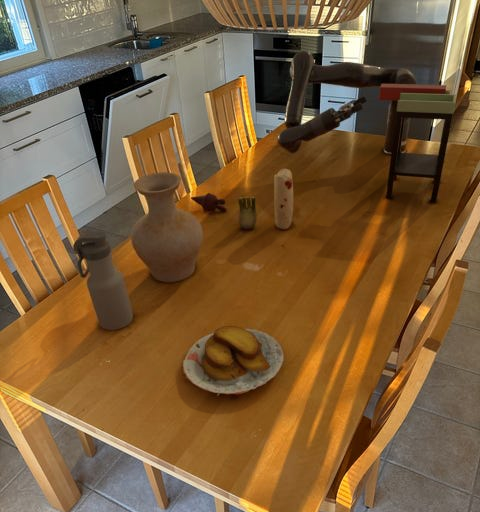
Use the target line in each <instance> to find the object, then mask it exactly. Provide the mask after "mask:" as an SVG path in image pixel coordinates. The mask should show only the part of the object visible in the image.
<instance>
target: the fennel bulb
mask: <svg viewBox="0 0 480 512" xmlns="http://www.w3.org/2000/svg"><path fill="white" fill-rule="evenodd" d="M237 202H238V208H239V210H238V224H239V227H240V228H241V229H243V230H252V229H254V228H255V226H256V225H257V216H258V215H257V209H256V208H257V207H256V197H255V196H251V197H250V196H242V197H238V199H237Z"/></svg>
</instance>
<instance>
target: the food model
mask: <svg viewBox="0 0 480 512" xmlns="http://www.w3.org/2000/svg"><path fill="white" fill-rule="evenodd" d="M293 182H294V181H293V173H292V171H291V170H290V169H288V168H281V169H280V170H279V171H278V172H277V174H276V173H275V174H274V176H273V194H274V195H273V204H274V221H275V226H276V227H277V229H281V230H287V229H289V228H290V226H291V225H292V222H293V214H294V183H293Z"/></svg>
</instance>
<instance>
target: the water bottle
mask: <svg viewBox="0 0 480 512" xmlns="http://www.w3.org/2000/svg"><path fill="white" fill-rule="evenodd" d="M72 249H73V253H74V254H75V255H77V257H78V260H77V263H76V264H77V265H76V266H77V269H78V272H79V275H80V277H81V278H82V279H85V278H86V277H87V276H88V277H87V279H86V286H87V290H88V293H89V296H90V300H91V303H92V305H93V309H94V313H95V316H96V318H97V322H98V324H99V326H100V327H101V328H102V329H105V330H107V331H116V330H117V331H118V330H121V329H123V328H126V327H127V326H128V325H129V324H131V322H132V321H133V318H134V313H133V309H132V305H131V302H130V298H129V293H128V290H127V286H126V282H125V278H124V275H123V273H122V272H121V271H120V270H119V269H118V268H115V264H114V261H113V257H112V249H111V245H110V242H109V241H108V240H107V235H106V232H105V231H103V230H91V231H90V230H89V231H88V230H86V231H84V232H82V233H81V234H80V235H79V236H78V237H77V238H76V239H75V241H74V242H73V245H72ZM84 260H85V262H86V266H87V268H86V269H85V271H83V268H82V262H83V261H84ZM88 274H89V275H88Z"/></svg>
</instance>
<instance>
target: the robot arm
mask: <svg viewBox="0 0 480 512" xmlns="http://www.w3.org/2000/svg"><path fill="white" fill-rule="evenodd" d="M289 75H290V77H291V79H292V81H291V87H290V92H289V96H288V100H287V103H286V108H285V114H284V119H283V120H284V121H283V124H284V127H285V129H283V130H282V131H280V132H279V134H278V135H277V138H276V142H277V145H278V146H279V147H280V148H282V149H283V150H285V151H286V152H287V153H290V154H295V153H297V152H298V151H299V150H300V148H301V146H302V142H310V141H312V140H314V139H317V138H318V137H320V136H323V135H325V134H327V133H329V132H331V131H333V130H335V129H337V128H339V127H340V126H341V123H342V122H344V121H346V120H348V119H350V118H352V116H354V114H357V113H358V112H361V111H362V110H363V108H364V106H363V104H365V103H367V98H366V96H364V95H363V96H361V97H359V98H357V99H352V100H350V101H349V102H346V103H345V104H343V105H341V106H340V107H339V108H338V110H336V109H335V108H333V107H330V108H328V109H326V110H324V111H323V112H321V113H319V114H317V115H315V116H314V117H312V118H311V119H308V120H307V121H305V122H304V123H302V121H303V116H304V109H305V101H306V94H307V90H308V84H324V85H331V86H332V85H333V86H338V87H344V88H353V89H365V88H366V89H368V88H375V87H376V88H380V87H381V84H415V85H417V78H416V76H415V75H414V74H413V73H412V71H410V70H409V69H408V68H398V67H397V68H394V67H379V66H377V65H371V64H365V63H359V62H354V61H343V62H338V63H337V62H336V63H333V64H329V65H319V64H315V57H314V56H313V54H312V53H311V52H309V51H307V50H300V51H298V52H296V54H295V55H294V56H293V57H292V60H291V63H290V68H289ZM397 105H398V101H392V100H390V104H388V111H387V113H388V114H387V119H386V120H387V121H386V130H385V136H384V137H385V138H384V147H383V153H385V154H387V155H390V156H391V153H392V145H393V137H394V129H395V121H396V113H397ZM410 121H411V118H405V121H404V129H403V136H402V143H401V151H400V153H407V152H406V151H407V143H408V134H409V130H410V129H409V128H410Z"/></svg>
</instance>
